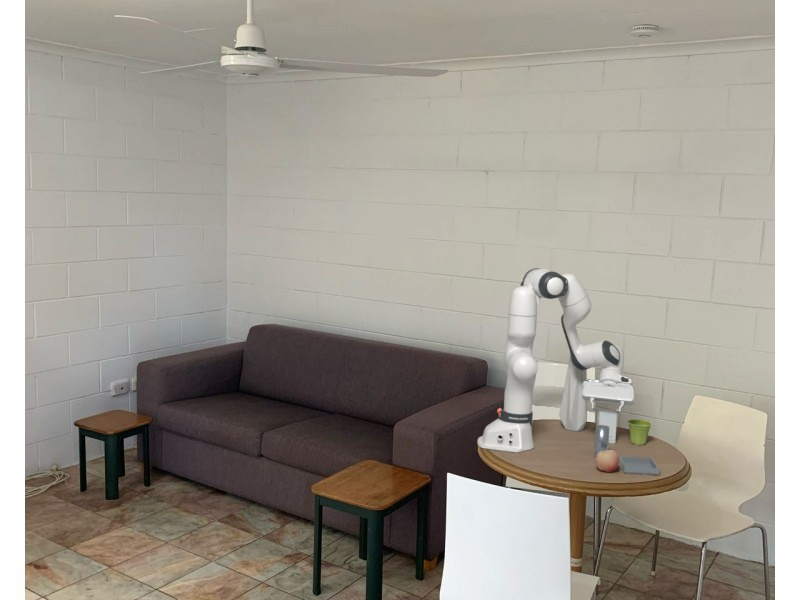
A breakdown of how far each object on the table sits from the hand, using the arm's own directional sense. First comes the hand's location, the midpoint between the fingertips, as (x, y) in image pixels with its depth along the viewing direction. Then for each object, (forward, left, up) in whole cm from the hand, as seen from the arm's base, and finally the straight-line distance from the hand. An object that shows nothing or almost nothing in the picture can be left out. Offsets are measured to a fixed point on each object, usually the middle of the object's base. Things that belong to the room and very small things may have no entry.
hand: (606, 410), depth 299 cm
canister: (-3, -10, -16) cm, 19 cm away
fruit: (-3, -26, -16) cm, 31 cm away
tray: (+9, -21, -16) cm, 28 cm away
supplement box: (+2, +13, -16) cm, 20 cm away
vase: (-9, +27, -16) cm, 32 cm away
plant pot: (+15, +12, -16) cm, 25 cm away
